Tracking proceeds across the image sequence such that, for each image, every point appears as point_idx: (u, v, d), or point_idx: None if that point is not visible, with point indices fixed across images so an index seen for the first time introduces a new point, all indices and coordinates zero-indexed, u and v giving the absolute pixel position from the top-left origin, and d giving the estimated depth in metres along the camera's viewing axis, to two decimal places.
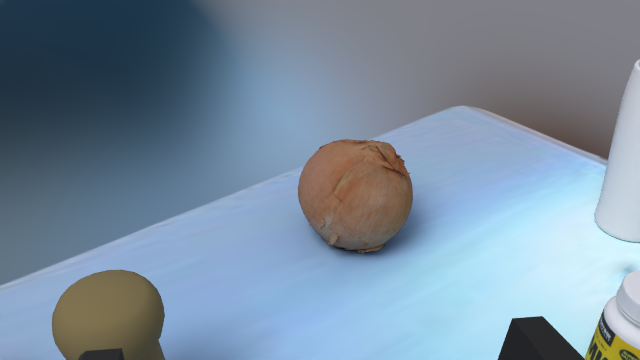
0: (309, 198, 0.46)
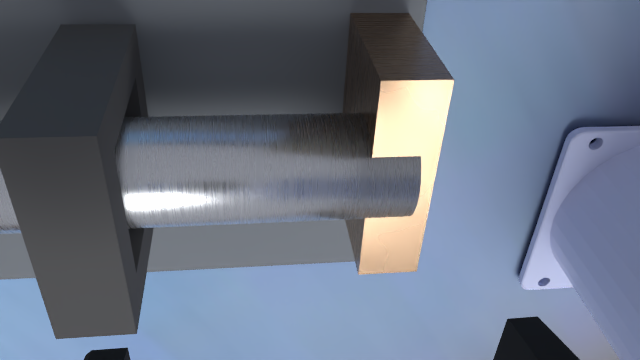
0: None
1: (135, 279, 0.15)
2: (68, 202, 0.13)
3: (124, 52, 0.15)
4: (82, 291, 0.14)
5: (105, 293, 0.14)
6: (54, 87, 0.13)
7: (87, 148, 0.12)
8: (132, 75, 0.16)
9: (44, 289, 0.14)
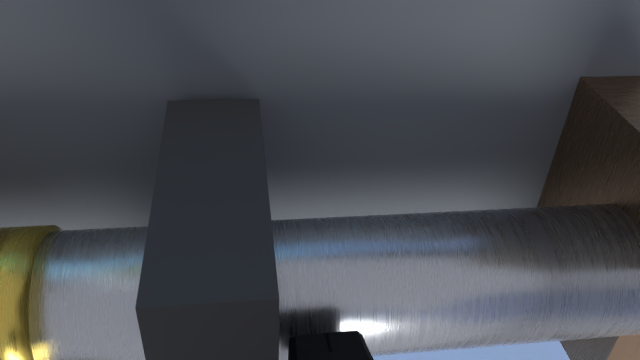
0: None
1: None
2: None
3: (262, 145, 0.12)
4: None
5: None
6: (192, 208, 0.10)
7: (263, 313, 0.09)
8: None
9: None
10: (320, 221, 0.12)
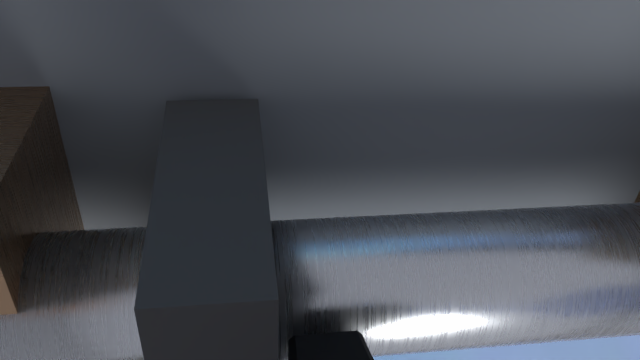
0: None
1: None
2: None
3: (261, 145, 0.12)
4: None
5: None
6: (191, 208, 0.10)
7: (262, 314, 0.09)
8: None
9: None
10: (459, 214, 0.13)
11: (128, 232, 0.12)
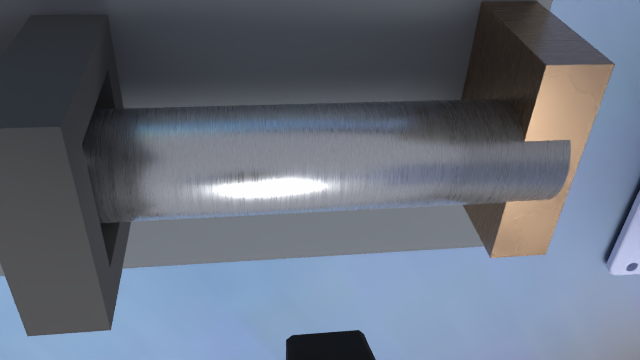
0: None
1: (108, 274, 0.15)
2: (34, 195, 0.12)
3: (94, 42, 0.15)
4: (53, 286, 0.14)
5: (76, 289, 0.14)
6: (20, 77, 0.13)
7: (51, 139, 0.12)
8: (104, 66, 0.16)
9: (13, 285, 0.14)
10: (265, 105, 0.16)
11: None
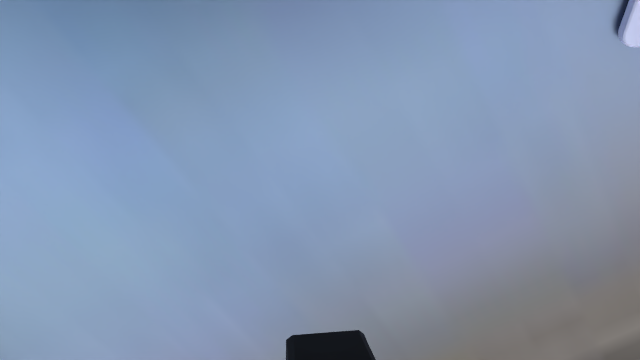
0: None
1: None
2: None
3: None
4: None
5: None
6: None
7: None
8: None
9: None
10: None
11: None
